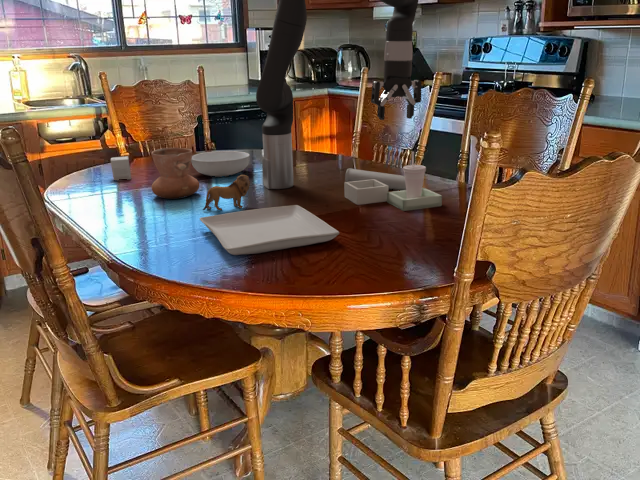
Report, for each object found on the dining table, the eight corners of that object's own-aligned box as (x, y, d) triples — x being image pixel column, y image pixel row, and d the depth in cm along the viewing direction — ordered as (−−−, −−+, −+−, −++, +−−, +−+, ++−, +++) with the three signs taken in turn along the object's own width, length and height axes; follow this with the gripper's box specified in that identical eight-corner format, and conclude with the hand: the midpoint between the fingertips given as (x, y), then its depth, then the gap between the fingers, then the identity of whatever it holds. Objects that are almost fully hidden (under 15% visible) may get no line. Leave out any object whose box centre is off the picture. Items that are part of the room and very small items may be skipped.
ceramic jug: (209, 197, 181) (204, 151, 177) (162, 205, 174) (157, 157, 169) (187, 186, 196) (183, 144, 191) (144, 193, 188) (138, 149, 184)
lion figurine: (247, 202, 175) (245, 172, 172) (254, 206, 171) (252, 175, 168) (199, 210, 168) (196, 179, 165) (206, 214, 164) (203, 182, 161)
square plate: (227, 264, 127) (226, 247, 126) (199, 230, 151) (198, 215, 150) (341, 245, 137) (340, 229, 136) (298, 216, 161) (297, 202, 160)
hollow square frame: (357, 204, 169) (357, 189, 168) (344, 196, 178) (344, 182, 176) (388, 201, 172) (388, 185, 171) (374, 193, 181) (374, 179, 179)
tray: (403, 210, 162) (403, 200, 161) (387, 202, 171) (387, 192, 170) (441, 206, 165) (442, 195, 165) (424, 197, 174) (424, 187, 173)
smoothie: (400, 198, 171) (401, 150, 166) (422, 197, 171) (423, 149, 167) (405, 204, 165) (406, 154, 160) (427, 203, 165) (429, 153, 161)
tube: (422, 178, 182) (355, 169, 197) (415, 175, 178) (346, 166, 192) (419, 195, 183) (352, 184, 197) (412, 193, 178) (343, 182, 193)
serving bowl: (261, 175, 210) (260, 155, 208) (206, 184, 199) (204, 163, 197) (234, 166, 227) (233, 148, 225) (183, 173, 216) (181, 155, 214)
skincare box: (131, 176, 214) (128, 155, 212) (131, 179, 209) (128, 158, 206) (113, 177, 213) (110, 157, 210) (113, 181, 207) (110, 160, 205)
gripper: (415, 57, 166) (412, 116, 172) (368, 58, 162) (366, 118, 167) (428, 59, 160) (424, 119, 165) (379, 59, 155) (377, 121, 161)
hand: (395, 118), depth 166 cm, fingers open, 8 cm apart
